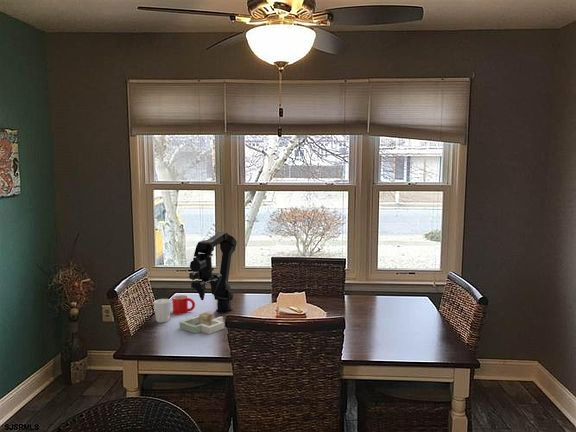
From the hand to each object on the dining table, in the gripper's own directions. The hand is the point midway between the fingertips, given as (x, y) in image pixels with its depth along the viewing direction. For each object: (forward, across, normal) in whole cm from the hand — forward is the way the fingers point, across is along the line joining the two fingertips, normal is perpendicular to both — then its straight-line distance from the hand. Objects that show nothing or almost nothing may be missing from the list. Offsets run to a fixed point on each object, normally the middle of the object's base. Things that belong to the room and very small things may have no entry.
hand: (207, 297), depth 244 cm
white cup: (+12, +8, -22) cm, 27 cm away
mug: (+13, -7, -21) cm, 25 cm away
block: (+12, +4, +1) cm, 13 cm away
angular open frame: (+12, +8, +4) cm, 15 cm away
